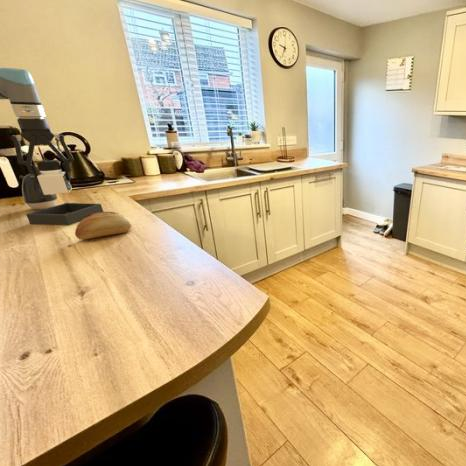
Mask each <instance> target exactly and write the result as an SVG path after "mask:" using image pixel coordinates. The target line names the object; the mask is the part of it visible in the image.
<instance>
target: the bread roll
mask: <svg viewBox="0 0 466 466" xmlns="http://www.w3.org/2000/svg"><path fill="white" fill-rule="evenodd" d="M131 229H132V224H131V222H130V221H129V220H128V219H127V218H126V217H125V216H124V215H123V214H120V213H118V212H114V211H103V212H99V213H94V214H89V215H87V216H86V217H84V218H83V219H82V220H81V221H79V222H78V224H77V226H76V228H75V230H74V235H75V237H76V238H77V239H78V240H88V239H95V238H101V237H106V236H112V235H117V234H118V235H119V234H123V233H128V232H129V231H130V230H131Z"/></svg>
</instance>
